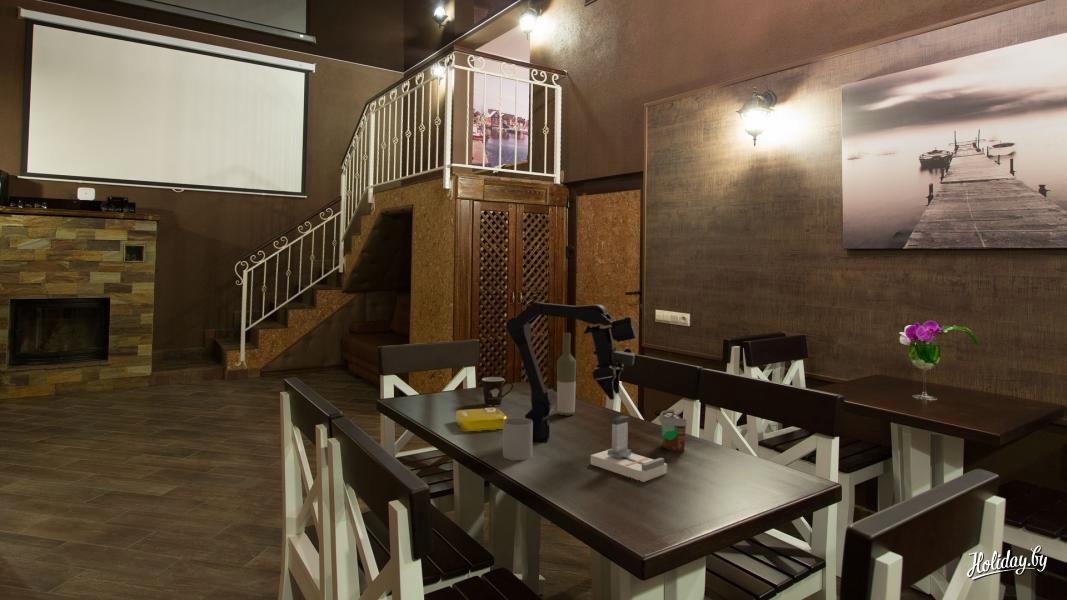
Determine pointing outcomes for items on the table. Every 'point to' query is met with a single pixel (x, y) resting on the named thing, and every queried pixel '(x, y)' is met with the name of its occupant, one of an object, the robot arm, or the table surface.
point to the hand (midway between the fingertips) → (614, 396)
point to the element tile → (480, 419)
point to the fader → (619, 437)
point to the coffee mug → (494, 390)
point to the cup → (517, 438)
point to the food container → (672, 430)
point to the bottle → (566, 379)
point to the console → (631, 465)
